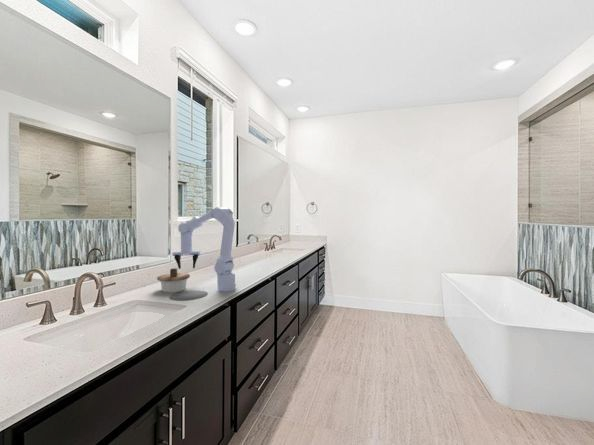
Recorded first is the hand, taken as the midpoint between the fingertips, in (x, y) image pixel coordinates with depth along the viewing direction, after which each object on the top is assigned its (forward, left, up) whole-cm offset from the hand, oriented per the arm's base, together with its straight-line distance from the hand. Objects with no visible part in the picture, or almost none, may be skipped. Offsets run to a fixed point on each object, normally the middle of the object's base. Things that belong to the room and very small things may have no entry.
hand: (186, 268), depth 160 cm
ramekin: (+6, +7, -11) cm, 14 cm away
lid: (+6, +8, -4) cm, 10 cm away
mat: (-3, +22, -10) cm, 24 cm away
